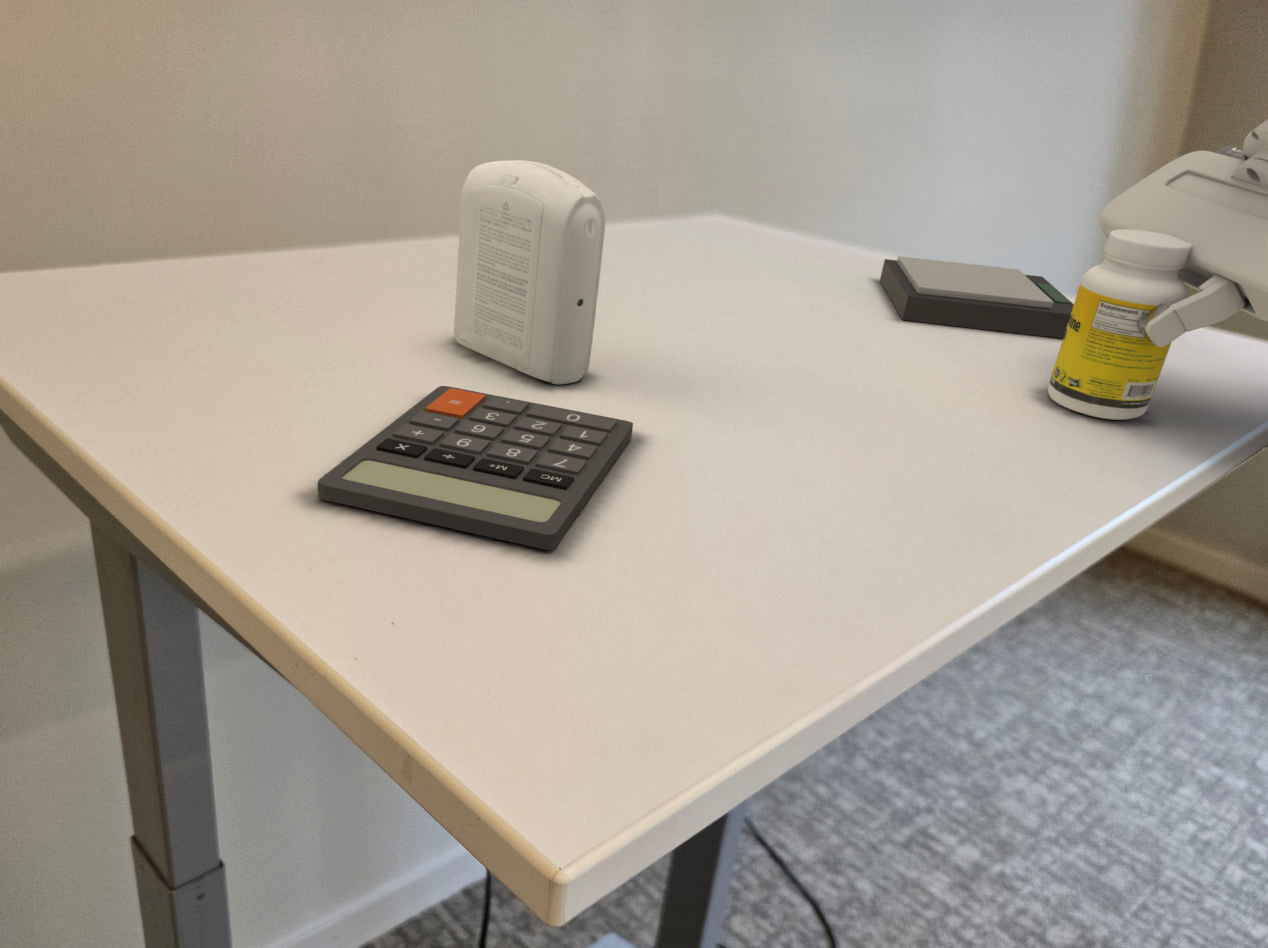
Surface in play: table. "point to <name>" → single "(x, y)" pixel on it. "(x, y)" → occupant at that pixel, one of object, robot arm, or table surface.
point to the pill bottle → (1118, 326)
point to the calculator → (482, 466)
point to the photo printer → (529, 268)
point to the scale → (975, 297)
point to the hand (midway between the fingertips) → (1114, 318)
